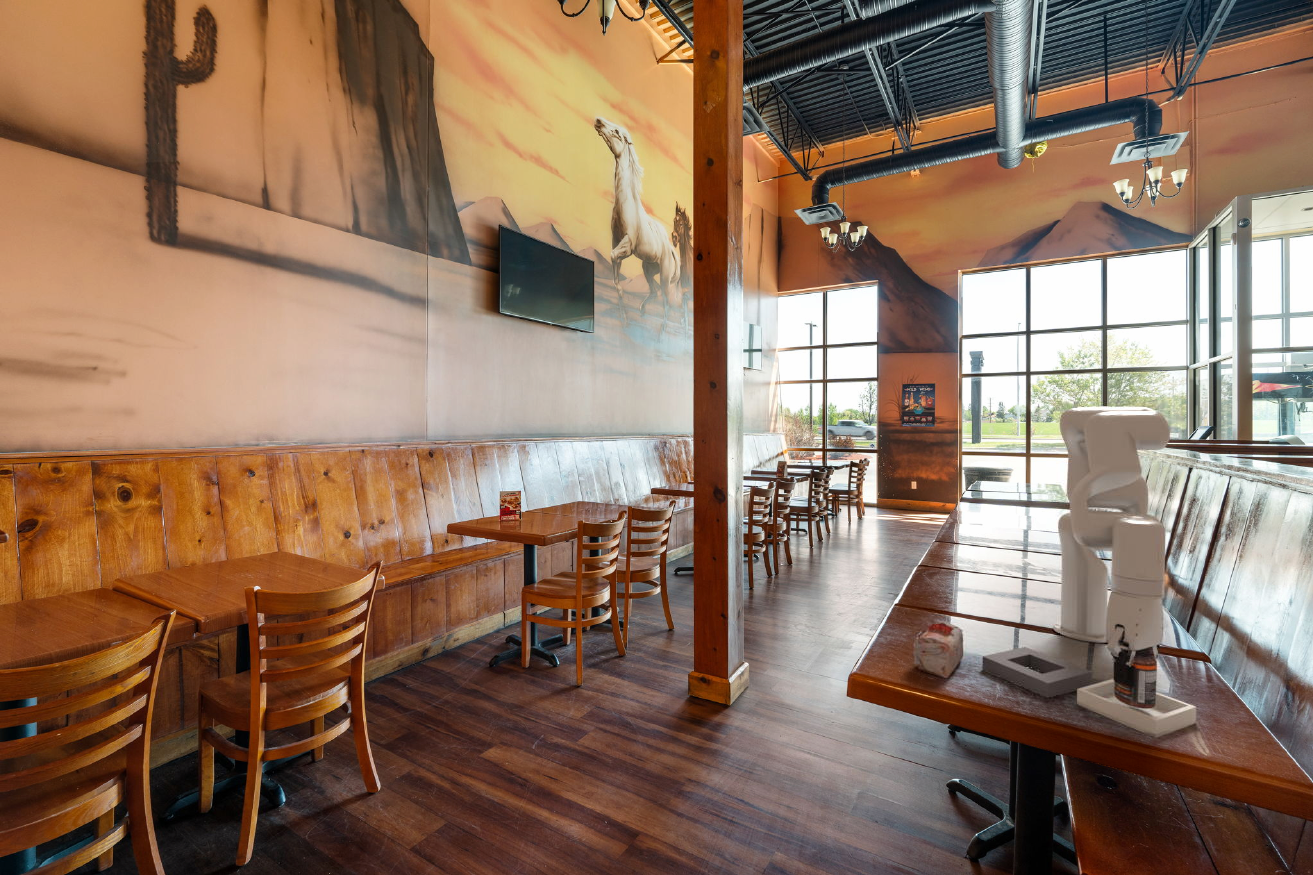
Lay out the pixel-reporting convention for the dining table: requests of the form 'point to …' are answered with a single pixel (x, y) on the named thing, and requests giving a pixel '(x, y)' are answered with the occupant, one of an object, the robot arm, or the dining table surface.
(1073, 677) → the frame
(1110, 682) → the tray
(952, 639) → the food item
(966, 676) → the dining table surface
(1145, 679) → the supplement bottle
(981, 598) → the dining table surface
